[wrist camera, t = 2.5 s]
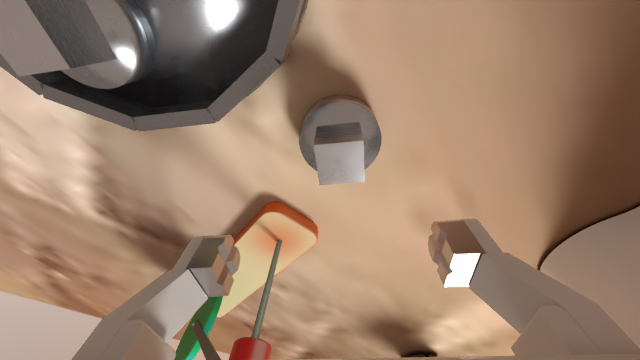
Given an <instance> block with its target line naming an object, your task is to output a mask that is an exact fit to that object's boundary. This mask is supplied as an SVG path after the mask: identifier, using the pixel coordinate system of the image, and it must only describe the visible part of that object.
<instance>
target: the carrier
mask: <svg viewBox="0 0 640 360" xmlns="http://www.w3.org/2000/svg"><path fill="white" fill-rule="evenodd" d="M307 4H308V0H0V66H1V67H2V68H3V69H5V70H6V71H7V72H9V73H10V74H11V75H13V76H14V77H15V78H17V79H18V80H19V81H21V82H22V83H23V84H25V85H26V86H28V87H29V88H30V89H32V90H33V91H34V92H36V93H37V94H38V95H42V94H43V96H44V98H46V99H49V100H52V101H54V102H57V103H60V104H63V105H65V106H68V107H71V108H74V109H76V110H79V111H82V112H85V113H88V114H90V115H93V116H96V117H99V118H101V119H104V120H107V121H110V122H112V123H115V124H118V125H121V126H123V127H126V128H129V129H132V130H135V131H136V130H137V129H138V130H139V131H146V130H155V129H165V128H174V127H183V126H192V125H201V124H210V123H215V122H217V121H219V120H220V119H222V118H223V117H224V116H225V115H226V114H227V113H228V112H229V111H231V110H232V109H233V108H234V107H235V106H236V105H237V104H238V103H239V102H240V101H242V100H243V99H244V98H246V97H247V96H248V95H249V94H251V93H252V92H253V91H255V90H256V89H257V88H258V87H259V86H260V85H261V84H262V83H263V82H264V81H265V80H266V79H267V78H268V77H269V76H270V75H271V74H272V73H273V72H274V71H275V70H276V69H277V68H278V67H279V66H280V65H281V64H282V63H283V62H285V61H286V60H285V59H286V58H287V57H288V55H289V52H290V49H291V45H292V42H293V40H294V38H295V36H296V34H297V32H298V30H299V27H300V24H301V21H302V19H303V16H304V13H305V11H306V8H307Z"/></svg>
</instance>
